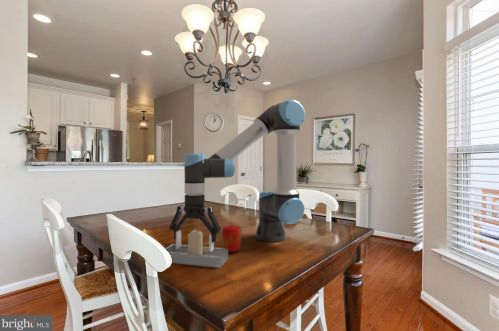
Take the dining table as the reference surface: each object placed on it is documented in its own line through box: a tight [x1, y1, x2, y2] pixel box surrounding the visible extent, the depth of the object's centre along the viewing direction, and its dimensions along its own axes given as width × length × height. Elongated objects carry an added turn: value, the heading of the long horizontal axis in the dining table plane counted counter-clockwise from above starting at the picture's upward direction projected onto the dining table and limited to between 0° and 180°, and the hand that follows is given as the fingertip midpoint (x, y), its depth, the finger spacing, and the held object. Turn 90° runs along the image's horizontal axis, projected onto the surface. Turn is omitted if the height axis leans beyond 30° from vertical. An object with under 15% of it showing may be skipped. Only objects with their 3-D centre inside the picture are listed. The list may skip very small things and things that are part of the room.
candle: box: [187, 228, 204, 255], centre depth 98 cm, size 6×6×10 cm
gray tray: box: [164, 243, 229, 269], centre depth 98 cm, size 24×10×4 cm, turn 77°
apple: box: [221, 223, 243, 253], centre depth 108 cm, size 9×8×12 cm
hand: (194, 249), depth 98 cm, fingers open, 13 cm apart
